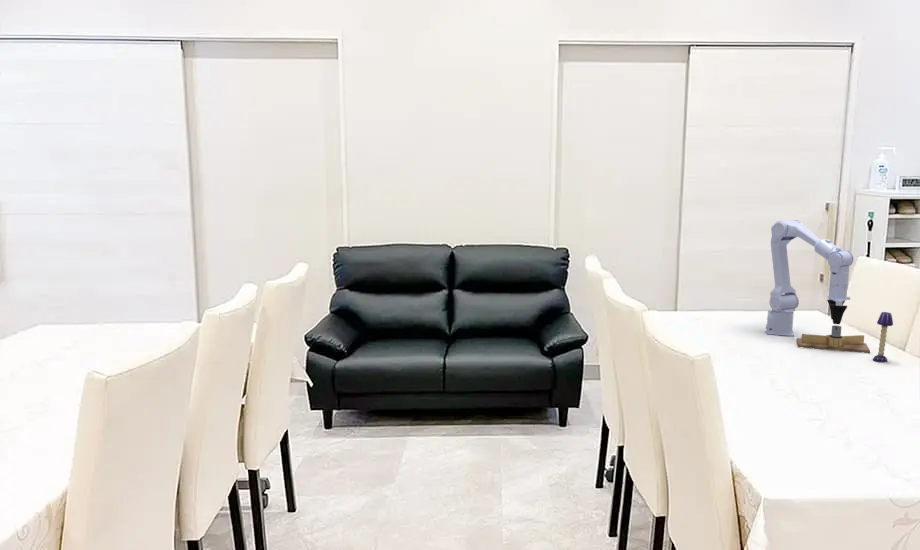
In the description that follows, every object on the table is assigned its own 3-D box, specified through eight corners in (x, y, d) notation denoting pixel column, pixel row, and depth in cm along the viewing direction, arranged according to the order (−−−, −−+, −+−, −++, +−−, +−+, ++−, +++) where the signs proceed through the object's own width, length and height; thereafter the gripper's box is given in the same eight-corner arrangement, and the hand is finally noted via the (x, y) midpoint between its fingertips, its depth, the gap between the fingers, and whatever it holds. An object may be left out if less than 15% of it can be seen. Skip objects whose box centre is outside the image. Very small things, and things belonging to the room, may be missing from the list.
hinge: (801, 344, 264) (802, 336, 264) (800, 338, 272) (801, 330, 272) (866, 349, 257) (867, 341, 256) (863, 343, 265) (864, 335, 264)
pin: (831, 345, 262) (832, 326, 261) (830, 343, 265) (831, 325, 264) (840, 346, 261) (841, 327, 260) (839, 344, 264) (840, 325, 263)
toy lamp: (885, 359, 248) (889, 311, 246) (892, 363, 244) (896, 314, 241) (870, 358, 249) (874, 311, 246) (877, 362, 244) (881, 314, 242)
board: (797, 347, 264) (797, 344, 264) (796, 340, 274) (796, 337, 274) (869, 353, 256) (869, 350, 256) (865, 346, 265) (865, 343, 265)
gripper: (853, 288, 252) (850, 326, 255) (848, 281, 266) (845, 318, 268) (830, 287, 255) (827, 325, 257) (827, 280, 268) (824, 316, 271)
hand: (835, 321), depth 263 cm, fingers open, 7 cm apart
